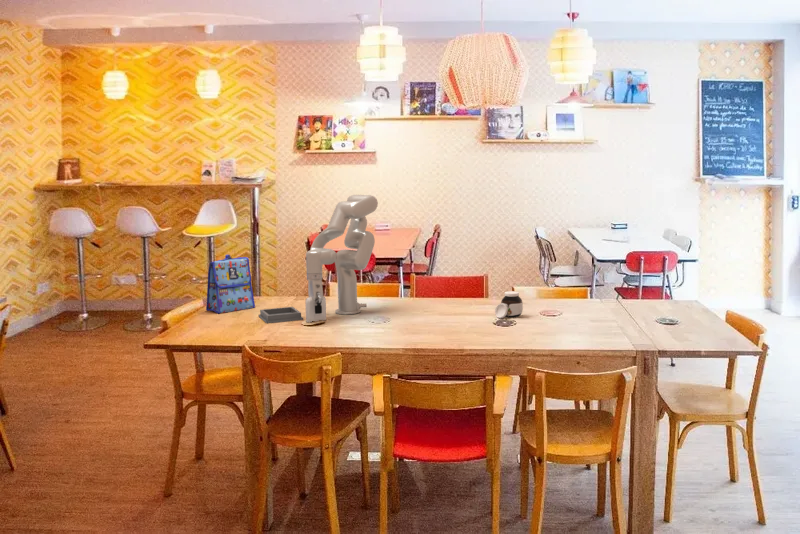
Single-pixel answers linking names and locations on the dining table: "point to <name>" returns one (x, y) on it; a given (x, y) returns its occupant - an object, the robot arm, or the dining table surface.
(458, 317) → the dining table surface
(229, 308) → the lunch bag
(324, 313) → the photo printer
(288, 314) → the tray
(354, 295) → the robot arm
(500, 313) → the spread jar
